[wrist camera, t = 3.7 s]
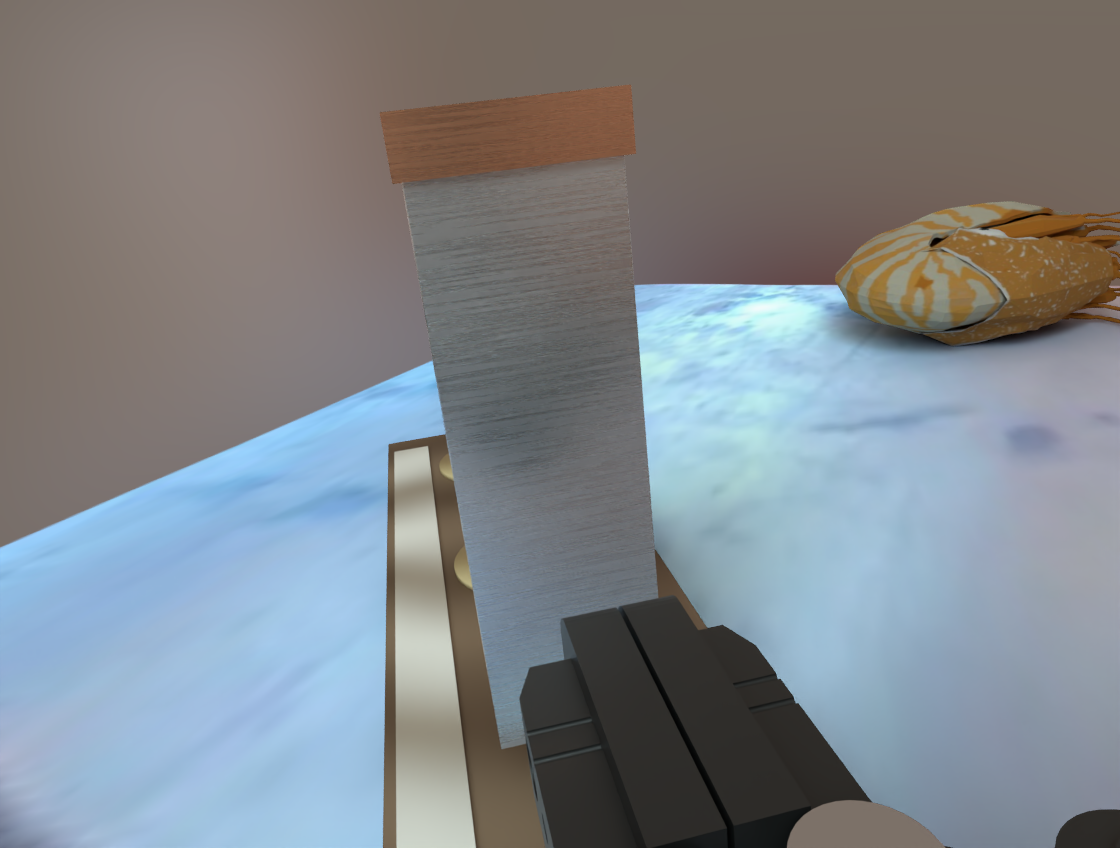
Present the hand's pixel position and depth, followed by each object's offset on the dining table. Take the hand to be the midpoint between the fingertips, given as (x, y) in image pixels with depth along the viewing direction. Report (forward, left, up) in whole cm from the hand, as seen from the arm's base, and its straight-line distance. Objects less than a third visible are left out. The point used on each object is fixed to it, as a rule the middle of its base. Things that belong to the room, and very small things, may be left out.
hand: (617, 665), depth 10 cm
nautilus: (-47, -11, -9) cm, 49 cm away
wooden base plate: (-8, -13, -8) cm, 17 cm away
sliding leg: (-3, -5, -6) cm, 9 cm away
